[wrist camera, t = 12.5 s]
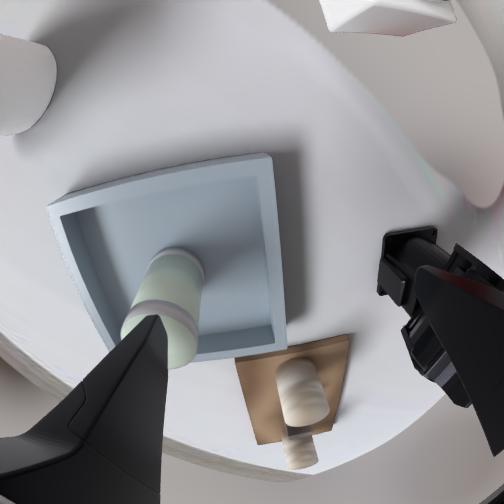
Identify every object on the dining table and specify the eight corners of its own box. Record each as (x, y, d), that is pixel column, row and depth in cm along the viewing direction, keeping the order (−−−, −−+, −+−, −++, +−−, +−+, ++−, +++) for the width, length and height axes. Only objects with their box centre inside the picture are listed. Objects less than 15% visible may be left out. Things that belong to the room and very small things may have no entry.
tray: (264, 152, 19) (271, 157, 16) (281, 326, 26) (287, 348, 23) (64, 194, 18) (46, 206, 16) (125, 345, 26) (118, 366, 23)
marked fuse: (198, 242, 21) (186, 309, 14) (209, 292, 23) (205, 367, 16) (142, 250, 21) (108, 315, 13) (157, 298, 23) (136, 370, 15)
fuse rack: (346, 334, 28) (371, 383, 22) (330, 425, 38) (341, 460, 31) (234, 355, 27) (239, 412, 21) (257, 440, 37) (262, 476, 31)
